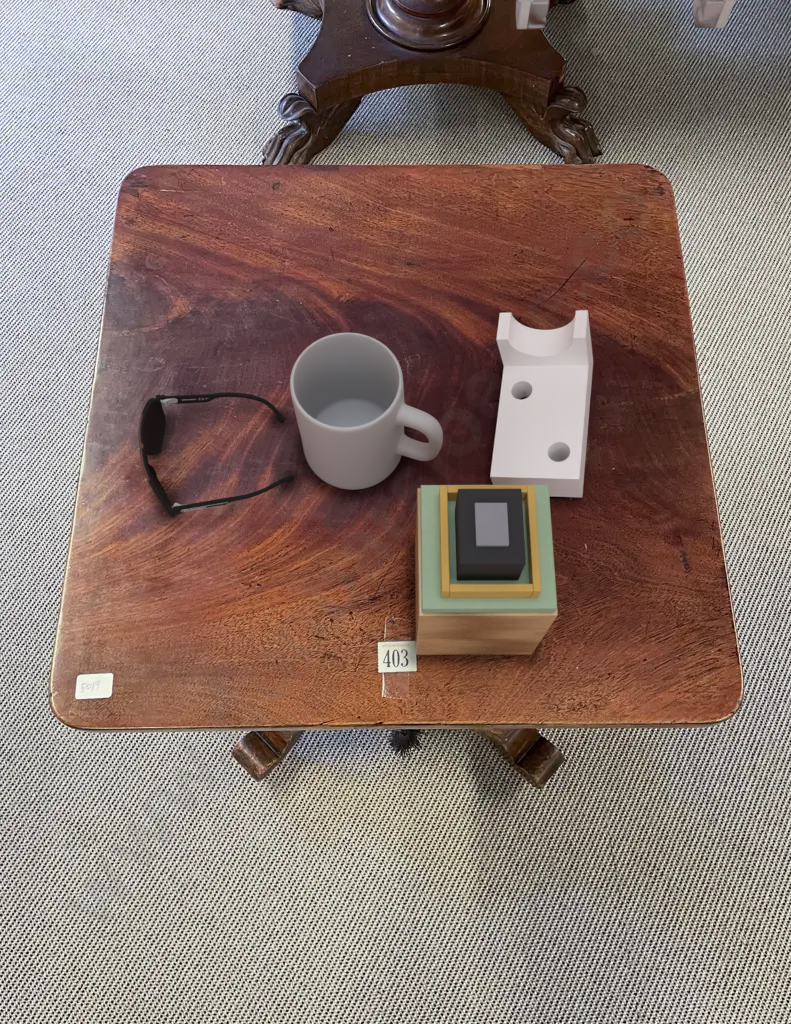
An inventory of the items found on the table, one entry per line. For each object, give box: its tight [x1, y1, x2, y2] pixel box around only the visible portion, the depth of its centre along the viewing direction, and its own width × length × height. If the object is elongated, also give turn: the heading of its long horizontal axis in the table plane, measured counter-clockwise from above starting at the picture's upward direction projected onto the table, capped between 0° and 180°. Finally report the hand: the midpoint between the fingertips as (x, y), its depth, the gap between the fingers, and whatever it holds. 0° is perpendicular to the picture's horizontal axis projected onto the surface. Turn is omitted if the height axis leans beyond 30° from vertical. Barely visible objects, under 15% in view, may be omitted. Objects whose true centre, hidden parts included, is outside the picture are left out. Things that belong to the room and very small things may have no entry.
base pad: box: [420, 484, 558, 612], centre depth 56 cm, size 9×9×2 cm
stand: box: [414, 487, 559, 656], centre depth 63 cm, size 9×9×12 cm
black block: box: [455, 489, 526, 580], centre depth 54 cm, size 4×5×4 cm
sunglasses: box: [137, 391, 295, 519], centre depth 71 cm, size 10×12×5 cm
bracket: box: [489, 309, 594, 498], centre depth 71 cm, size 13×7×8 cm, turn 171°
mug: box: [289, 332, 444, 491], centre depth 68 cm, size 12×8×11 cm
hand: (618, 21), depth 46 cm, fingers open, 8 cm apart
